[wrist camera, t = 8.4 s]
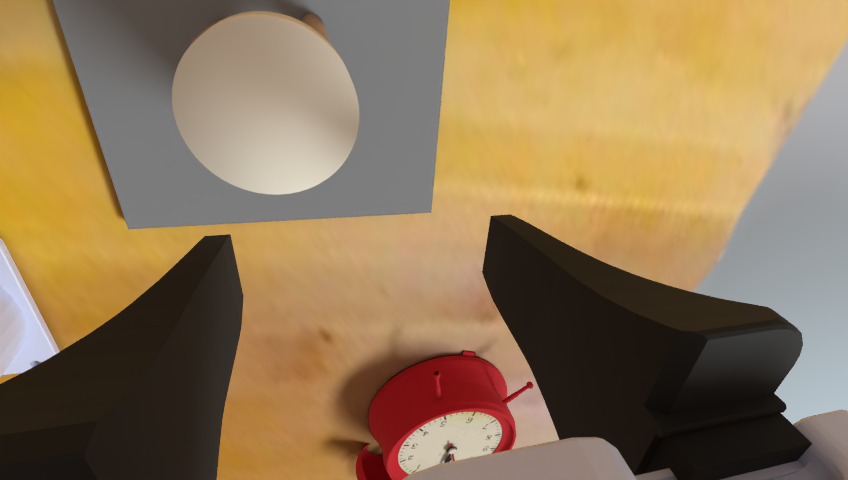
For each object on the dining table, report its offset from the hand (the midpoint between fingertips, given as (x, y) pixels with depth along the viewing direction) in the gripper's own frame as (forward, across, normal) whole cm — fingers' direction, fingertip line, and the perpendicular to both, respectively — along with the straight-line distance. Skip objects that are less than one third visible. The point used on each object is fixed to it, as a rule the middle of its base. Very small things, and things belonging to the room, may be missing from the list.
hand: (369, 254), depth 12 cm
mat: (+10, +2, -3) cm, 10 cm away
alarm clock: (+10, -6, +22) cm, 25 cm away
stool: (+9, +2, -3) cm, 10 cm away
